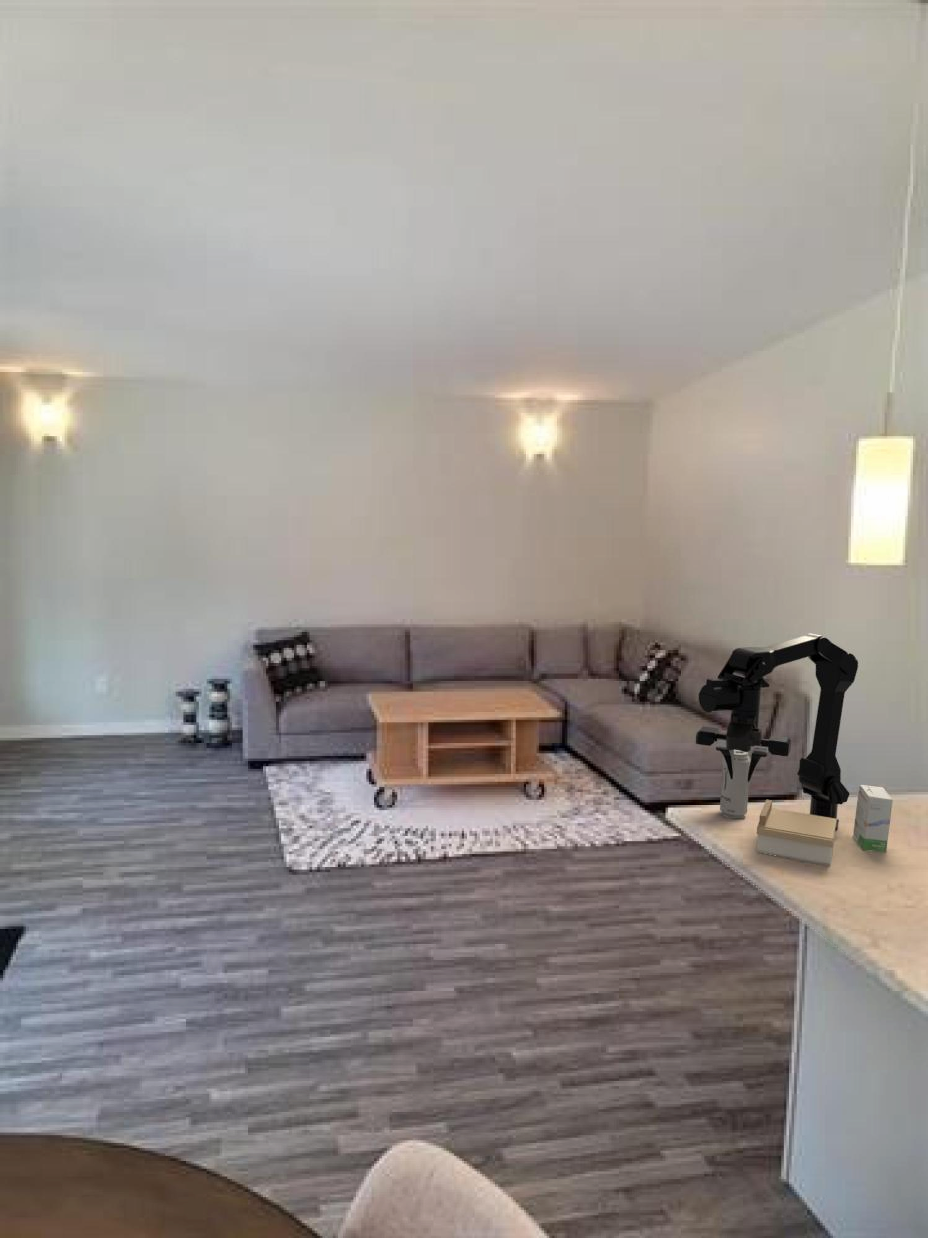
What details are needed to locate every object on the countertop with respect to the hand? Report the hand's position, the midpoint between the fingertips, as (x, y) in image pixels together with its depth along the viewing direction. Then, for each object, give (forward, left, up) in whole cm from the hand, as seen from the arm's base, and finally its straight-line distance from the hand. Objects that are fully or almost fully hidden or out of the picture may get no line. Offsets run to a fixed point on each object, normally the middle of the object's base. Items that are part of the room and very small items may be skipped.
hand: (740, 780), depth 187 cm
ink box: (-11, +26, -13) cm, 31 cm away
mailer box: (0, +12, -13) cm, 18 cm away
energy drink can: (-15, -3, -13) cm, 20 cm away
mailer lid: (0, +12, -9) cm, 15 cm away
